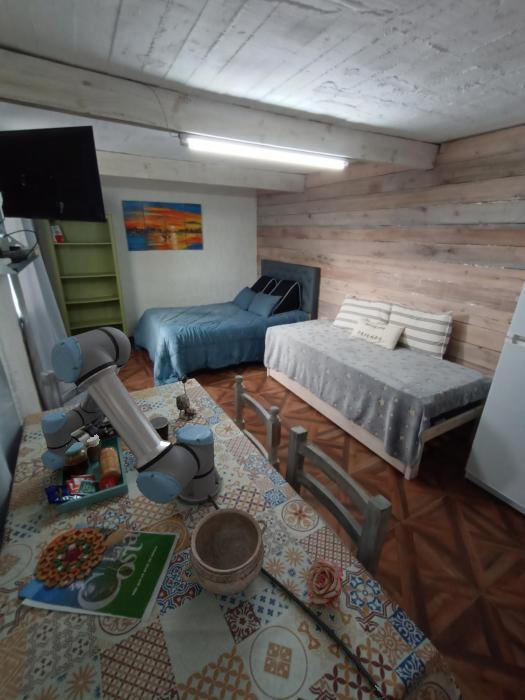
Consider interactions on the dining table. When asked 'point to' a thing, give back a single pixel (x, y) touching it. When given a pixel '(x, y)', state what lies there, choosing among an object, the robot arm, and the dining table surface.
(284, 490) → the dining table surface
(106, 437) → the holder
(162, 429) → the coffee mug
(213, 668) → the dining table surface
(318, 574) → the flower
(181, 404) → the plant with pod
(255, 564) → the cooking pot
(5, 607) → the dining table surface
